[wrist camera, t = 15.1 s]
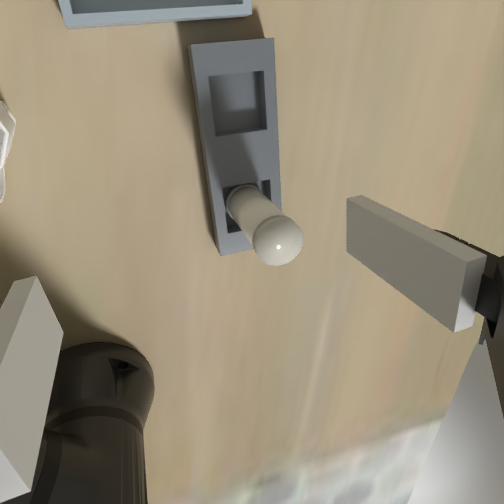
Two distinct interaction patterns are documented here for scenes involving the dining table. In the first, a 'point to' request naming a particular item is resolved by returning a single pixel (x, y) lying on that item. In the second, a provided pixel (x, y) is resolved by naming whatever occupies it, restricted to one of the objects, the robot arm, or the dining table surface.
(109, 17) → the parts tray
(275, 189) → the fuse strip
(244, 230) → the cylinder
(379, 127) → the dining table surface
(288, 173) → the dining table surface
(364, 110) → the dining table surface
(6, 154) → the cup
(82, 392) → the robot arm
